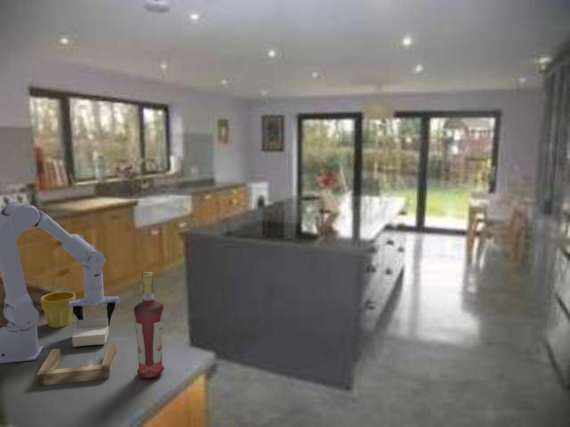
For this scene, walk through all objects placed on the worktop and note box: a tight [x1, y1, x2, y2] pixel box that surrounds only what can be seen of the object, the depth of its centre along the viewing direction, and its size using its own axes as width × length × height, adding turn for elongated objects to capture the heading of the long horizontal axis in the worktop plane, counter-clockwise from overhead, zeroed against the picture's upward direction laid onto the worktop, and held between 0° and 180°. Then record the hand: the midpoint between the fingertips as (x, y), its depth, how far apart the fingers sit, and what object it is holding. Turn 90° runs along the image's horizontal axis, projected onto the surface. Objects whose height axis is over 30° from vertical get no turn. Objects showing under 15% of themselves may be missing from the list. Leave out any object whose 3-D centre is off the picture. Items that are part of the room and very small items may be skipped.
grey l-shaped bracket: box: [71, 317, 110, 348], centre depth 132 cm, size 9×7×6 cm
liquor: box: [133, 271, 165, 380], centre depth 113 cm, size 7×7×28 cm
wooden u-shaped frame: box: [36, 343, 118, 387], centre depth 117 cm, size 17×14×3 cm
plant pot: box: [40, 291, 77, 329], centre depth 145 cm, size 10×10×10 cm
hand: (95, 326), depth 140 cm, fingers open, 7 cm apart
